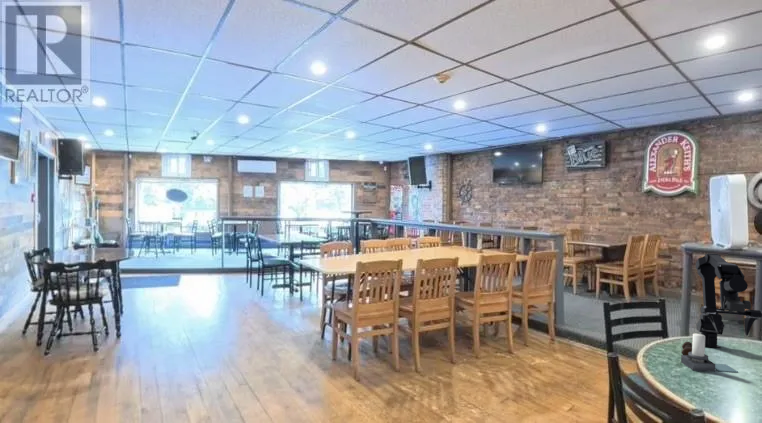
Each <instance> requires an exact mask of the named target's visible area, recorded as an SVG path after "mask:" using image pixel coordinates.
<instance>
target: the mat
mask: <svg viewBox="0 0 762 423" xmlns="http://www.w3.org/2000/svg"><path fill="white" fill-rule="evenodd" d="M714 364H715V371H717V372H720V373H721V372H722V373H739V371H738V370H736V369H735V368H733V367H731V366H729V365H728V364H726V363H714Z"/></svg>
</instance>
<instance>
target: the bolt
mask: <svg viewBox="0 0 762 423" xmlns="http://www.w3.org/2000/svg"><path fill="white" fill-rule="evenodd" d="M681 347H682V350H681V352H680V353H681V355H688V352H692V342H690V341H685V342H684V343H683V344H682V345H681Z"/></svg>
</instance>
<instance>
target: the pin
mask: <svg viewBox="0 0 762 423" xmlns="http://www.w3.org/2000/svg"><path fill="white" fill-rule="evenodd" d="M691 343H692V352H688V356H689V357H691V358H692V360H693V361H694V362H704V360H709V355H707V354H706V351H705V350H706V347H705V335H702V334H701V333H692V342H691Z"/></svg>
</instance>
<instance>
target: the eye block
mask: <svg viewBox="0 0 762 423" xmlns="http://www.w3.org/2000/svg"><path fill="white" fill-rule="evenodd" d="M680 363H681V364H683V365H684V366H686V367H687V368H688V369H690V370H691V371H693V372H695V371H696V372H697V371H698V372H714V373H715V372H716V370H715V364H716V363H715V362H713V361H710V360H709V359H708V360H704V362H694V361H693V360H692V358H691V357H689V356H688V355H683V354H681V355H680Z"/></svg>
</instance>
